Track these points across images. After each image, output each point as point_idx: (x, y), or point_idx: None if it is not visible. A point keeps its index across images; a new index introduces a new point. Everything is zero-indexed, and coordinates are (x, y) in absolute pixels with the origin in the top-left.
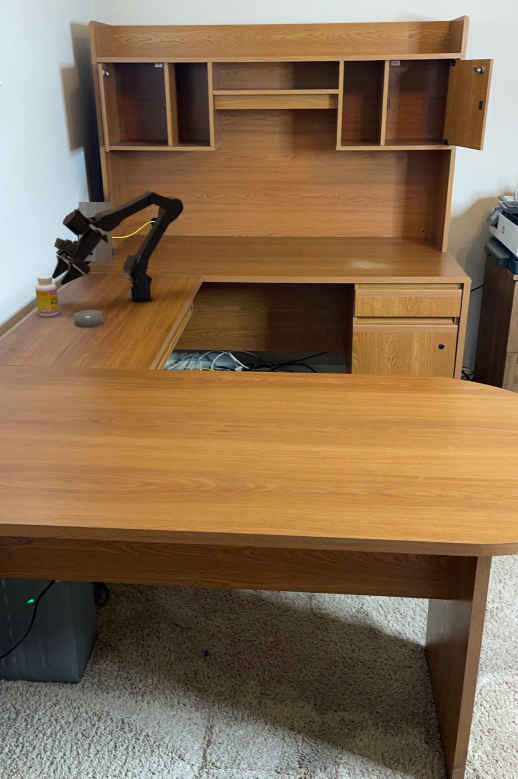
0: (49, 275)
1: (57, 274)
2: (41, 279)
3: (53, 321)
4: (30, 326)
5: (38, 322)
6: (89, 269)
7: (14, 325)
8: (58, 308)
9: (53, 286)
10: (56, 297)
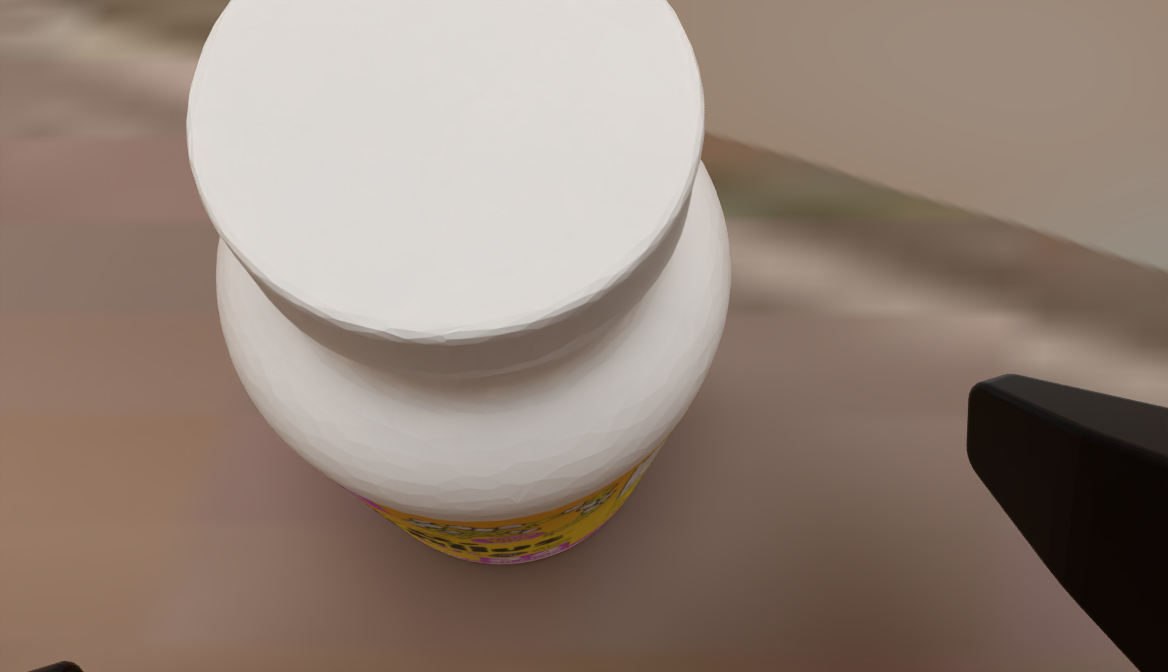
0: (580, 249)
1: (1109, 563)
2: (236, 20)
3: (138, 482)
4: (48, 201)
5: (177, 290)
6: None
7: (173, 42)
8: (482, 560)
9: (308, 435)
10: (403, 524)
